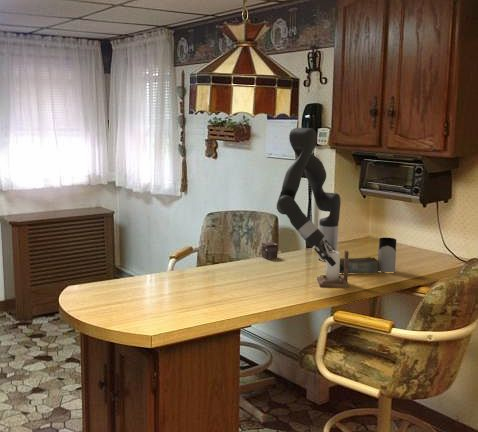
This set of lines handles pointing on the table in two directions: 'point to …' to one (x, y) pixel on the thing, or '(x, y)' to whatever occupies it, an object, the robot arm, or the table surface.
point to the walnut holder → (342, 280)
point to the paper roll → (333, 267)
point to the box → (269, 250)
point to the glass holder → (387, 254)
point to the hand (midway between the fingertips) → (336, 262)
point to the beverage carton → (360, 265)
